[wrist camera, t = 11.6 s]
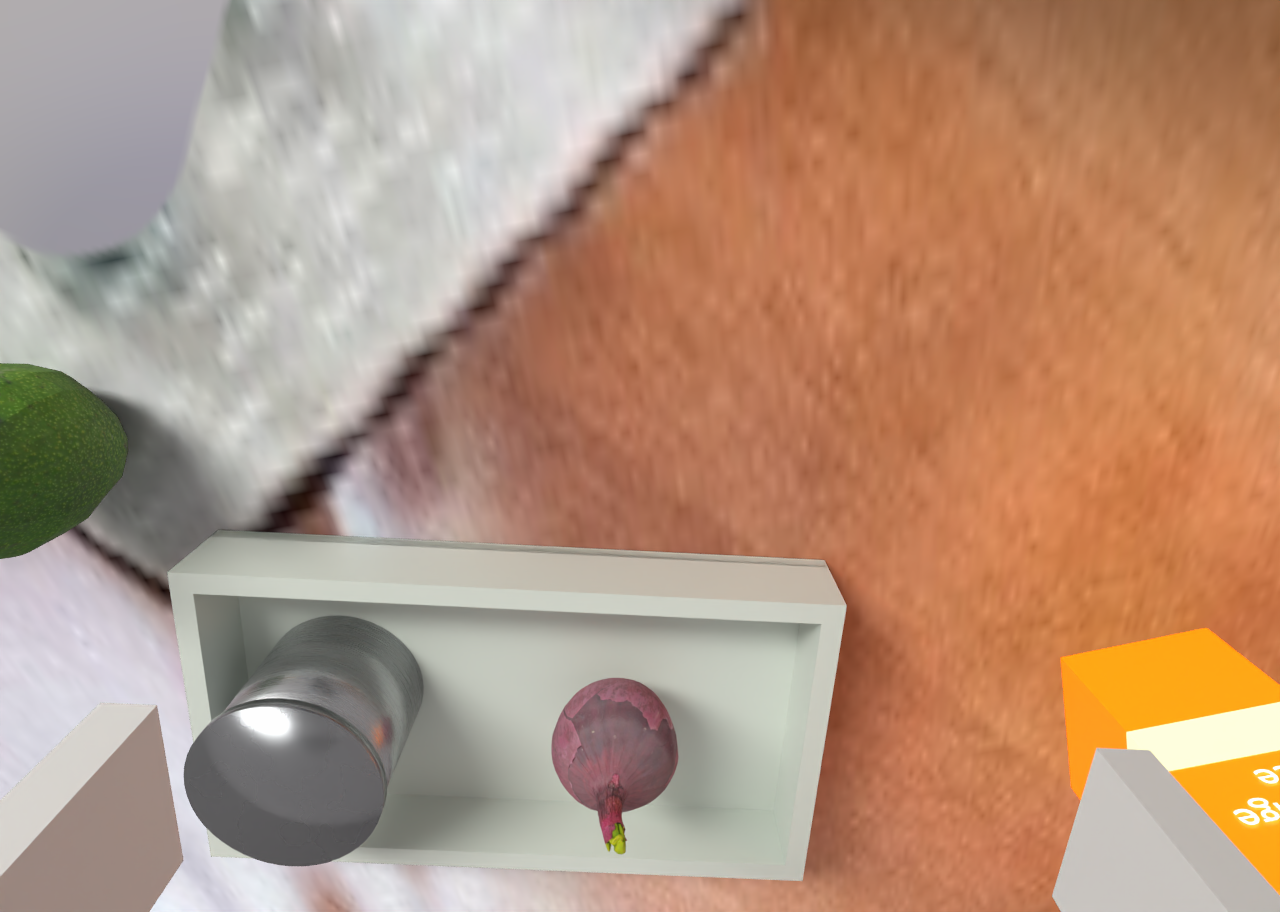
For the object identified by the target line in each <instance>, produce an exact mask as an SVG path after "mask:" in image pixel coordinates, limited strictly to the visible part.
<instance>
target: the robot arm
mask: <svg viewBox="0 0 1280 912" xmlns="http://www.w3.org/2000/svg"><path fill="white" fill-rule="evenodd" d="M182 862H183V855H182V849H181V843H180V838H179V832H178V826H177V820H176V814H175V808H174V802H173V797H172V791H171V785H170V779H169V773H168V767H167V762H166V756H165V750H164V744H163V738H162V732H161V726H160V721H159V715H158V709H157V705H140V704H117V703H100V704H99V705H98V706H97V707H96V708H95V709H94V710H93V711H92V712H91V713H90V714H89V715H87V716H86V717H85V718H84V719H83V720H82V721H81V722H80V723H79V724H78V725H77V726H76V727H75V728H74V729H73V730H72V731H71V732H70V733H69V734H68V735H67V736H66V737H65V738H64V739H63V740H62V741H61V742H60V743H59V744H58V745H57V746H56V747H55V748H54V749H53V750H52V751H51V752H50V753H49V754H47V755H46V756H45V757H44V758H43V759H42V760H41V761H40V762H39V763H38V764H37V765H36V766H35V767H34V768H33V769H32V770H31V771H30V772H29V773H28V774H27V775H26V776H25V777H24V778H23V779H22V780H21V781H20V782H19V783H18V784H17V785H16V786H15V787H14V788H13V789H12V790H11V791H10V792H9V793H7V794H6V795H5V796H4V797H3V798H2V799H1V800H0V912H149V911H150V910H151V908H152V907H153V905H154V904H155V902H156V901H157V899H158V898H159V896H160V895H161V893H162V892H163V890H164V889H165V887H166V886H167V884H168V883H169V881H170V880H171V878H172V877H173V875H174V874H175V872H176V871H177V869H178V868H179V866H180V865H181V863H182ZM1052 897H1053V899H1054V900H1055V902H1056V904H1057V906H1058V907H1059V909H1060V911H1061V912H1280V895H1279V894H1278V893H1277V892H1276V890H1275V889H1274V888H1273V887H1272V886H1271V885H1270V884H1269V883H1268V881H1267V880H1266V879H1265V878H1264V877H1263V876H1262V875H1261V874H1260V873H1259V871H1258V870H1257V869H1256V868H1255V867H1254V866H1253V865H1252V864H1251V863H1250V861H1249V860H1248V859H1247V858H1246V857H1245V856H1244V855H1243V854H1242V852H1241V851H1240V850H1239V849H1238V848H1237V847H1236V846H1235V845H1234V844H1233V842H1232V841H1231V840H1230V839H1229V838H1228V837H1227V836H1226V835H1225V834H1224V832H1223V831H1222V830H1221V829H1220V828H1219V827H1218V826H1217V825H1216V823H1215V822H1214V821H1213V820H1212V819H1211V818H1210V817H1209V816H1208V815H1207V813H1206V812H1205V811H1204V810H1203V809H1202V808H1201V807H1200V806H1199V805H1198V803H1197V802H1196V801H1195V800H1194V799H1193V798H1192V797H1191V796H1190V794H1189V793H1188V792H1187V791H1186V790H1185V789H1184V788H1183V787H1182V786H1181V784H1180V783H1179V782H1178V781H1177V780H1176V779H1175V778H1174V777H1173V776H1172V774H1171V773H1170V772H1169V771H1168V770H1167V769H1166V768H1165V767H1164V765H1163V764H1162V763H1161V762H1160V761H1159V760H1158V759H1157V758H1156V757H1155V755H1154V754H1153V753H1152V752H1151V751H1150V750H1136V749H1114V748H1096V751H1095V754H1094V757H1093V761H1092V764H1091V767H1090V771H1089V774H1088V777H1087V781H1086V784H1085V787H1084V791H1083V794H1082V798H1081V801H1080V804H1079V808H1078V811H1077V814H1076V818H1075V821H1074V824H1073V828H1072V831H1071V834H1070V838H1069V841H1068V844H1067V848H1066V851H1065V854H1064V858H1063V861H1062V865H1061V868H1060V871H1059V875H1058V878H1057V881H1056V885H1055V888H1054V891H1053V895H1052Z"/></svg>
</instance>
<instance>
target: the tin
mask: <svg viewBox="0 0 1280 912" xmlns="http://www.w3.org/2000/svg"><path fill="white" fill-rule="evenodd" d="M423 691H424V686H423V678H422V674H421V670H420V668H419V665H418V663H417V661H416V659H415V658H414V656H413V654H412V653H411V652H410V650H409V649H408V648H407V646H406V645H405V644H404V643H403V642H402V641H401V640H400V639H399V638H397V637H396V636H395V635H393V634H392V633H391V632H389V631H388V630H386V629H384V628H383V627H381V626H379V625H377V624H375V623H372V622H370V621H367V620H364V619H360V618H356V617H351V616H341V615H336V616H323V617H318V618H314V619H310V620H307V621H305V622H302V623H300V624H299V625H297V626H295V627H293V628H292V629H291V630H289V631H288V632H287V633H286V634H285V635H284V636H283V637H282V638H281V639H280V640H279V641H278V642H277V644H276V645H275V646H274V648H273V649H272V650H271V651H270V653H269V654H268V655H267V657H266V658H265V659H264V660H263V662H262V663H261V664H260V665H259V667H258V668H257V669H256V671H255V672H254V673H253V674H252V676H251V677H250V678H249V680H248V681H247V682H246V683H245V685H244V686H243V687H242V689H241V690H240V691H239V692H238V694H237V695H236V696H235V698H234V699H233V700H232V701H231V703H230V704H229V705H228V707H227V708H226V709H225V710H224V712H222V713H221V714H219V715H218V716H217V717H215V718H214V719H213V720H212V721H211V722H210V723H209V724H208V725H207V726H206V727H205V728H204V729H203V731H202V732H201V733H200V734H199V736H198V737H197V738H196V740H195V741H194V743H193V744H192V746H191V748H190V750H189V752H188V754H187V758H186V762H185V766H184V785H185V789H186V793H187V797H188V799H189V802H190V804H191V807H192V808H193V810H194V812H195V813H196V815H197V817H198V818H199V819H200V821H201V822H202V823H203V825H204V826H205V827H206V828H207V829H208V830H209V831H210V832H211V833H212V834H213V835H214V836H216V837H217V838H218V839H219V840H221V841H222V842H223V843H225V844H226V845H228V846H229V847H231V848H232V849H234V850H236V851H238V852H240V853H242V854H244V855H247V856H249V857H252V858H254V859H257V860H260V861H264V862H267V863H272V864H277V865H285V866H310V865H318V864H322V863H327V862H330V861H333V860H336V859H339V858H341V857H343V856H345V855H347V854H349V853H351V852H352V851H354V850H355V849H357V848H358V847H359V846H360V845H361V844H363V843H364V842H365V841H366V840H367V839H368V837H369V836H370V835H371V834H372V832H373V831H374V829H375V827H376V825H377V824H378V821H379V819H380V816H381V814H382V811H383V808H384V806H385V802H386V797H387V787H388V785H389V782H390V780H391V778H392V775H393V773H394V770H395V768H396V765H397V763H398V761H399V758H400V756H401V753H402V751H403V748H404V746H405V744H406V741H407V739H408V736H409V734H410V732H411V729H412V727H413V724H414V722H415V719H416V717H417V715H418V712H419V709H420V707H421V704H422V700H423Z"/></svg>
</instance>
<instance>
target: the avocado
mask: <svg viewBox="0 0 1280 912" xmlns="http://www.w3.org/2000/svg"><path fill="white" fill-rule="evenodd" d="M127 453H128V440H127V436H126V434H125V432H124V430H123V427H122V425H121V423H120V421H119V419H118V417H117V416H116V415H115V413H114V412H112V410H111V409H110V408H109V407H108V406H107V405H106V404H105V403H104V402H103V401H102V400H101V399H100V398H98V397H97V396H96V395H94V394H93V393H92V392H91V391H90V390H88V389H87V388H85V387H84V386H82V385H81V384H80V383H78V382H77V381H76V380H74V379H73V378H72V377H70V376H68V375H66V374H65V373H63V372H61V371H57V370H52V369H48V368H43V367H39V366H34V365H30V364H2V363H0V559H3V558H10V557H16V556H20V555H23V554H26V553H28V552H30V551H32V550H34V549H36V548H38V547H40V546H41V545H43V544H45V543H47V542H49V541H51V540H53V539H54V538H56V537H58V536H60V535H62V534H64V533H65V532H67V531H69V530H70V529H72V528H73V527H75V526H76V525H78V524H79V523H81V522H83V521H84V520H86V519H87V518H88V517H89V516H90V515H91V514H92V512H93V511H94V510H95V508H96V507H97V506H98V504H99V503H100V502H101V501H102V499H103V498H104V497H105V496H106V494H107V493H108V492H109V491H110V490H111V489H112V487H113V486H114V485H115V484H116V483H117V482H118V480H119V479H120V478H121V477H122V475H123V470H124V466H125V462H126V457H127Z"/></svg>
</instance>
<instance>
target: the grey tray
mask: <svg viewBox="0 0 1280 912" xmlns="http://www.w3.org/2000/svg"><path fill="white" fill-rule="evenodd" d="M167 575H168V582H169V588H170V595H171V601H172V608H173V614H174V621H175V627H176V634H177V640H178V647H179V653H180V659H181V666H182V672H183V679H184V685H185V692H186V698H187V705H188V711H189V718H190V724H191V731H192V737H193V743H194V741H195V740H196V738H197V737H198V736H199V734H200V733H201V732H202V731H203V729H204V728H205V727H206V726H207V725H208V724H209V723H210V722H211V721H212V720H213V719H214V718H215V717H217V716H218V715H219V714H221V713H222V712H224V710H225V709H226V708H227V707H228V705H229V704H230V703H231V701H232V700H233V699H234V698H235V696H236V695H237V694H238V692H239V691H240V690H241V689H242V687H243V686H244V685H245V683H246V682H247V681H248V680H249V678H250V677H251V676H252V674H253V673H254V672H255V671H256V669H257V668H258V667H259V665H260V664H261V663H262V662H263V660H264V659H265V658H266V657H267V655H268V654H269V653H270V651H271V650H272V649H273V648H274V646H275V645H276V644H277V642H278V641H279V640H280V639H281V638H282V637H283V636H284V635H285V634H286V633H287V632H288V631H289V630H291V629H292V628H293V627H295V626H297V625H299V624H300V623H302V622H305V621H307V620H310V619H314V618H318V617H323V616H336V615H341V616H351V617H356V618H360V619H364V620H367V621H370V622H372V623H375V624H377V625H379V626H381V627H383V628H384V629H386V630H388V631H389V632H391V633H392V634H393V635H395V636H396V637H397V638H399V639H400V640H401V641H402V642H403V643H404V644H405V645H406V646H407V648H408V649H409V650H410V652H411V653H412V654H413V656H414V658H415V659H416V661H417V663H418V665H419V668H420V670H421V674H422V678H423V686H424V691H423V700H422V704H421V707H420V709H419V712H418V715H417V717H416V719H415V722H414V724H413V727H412V729H411V732H410V734H409V736H408V739H407V741H406V744H405V746H404V748H403V751H402V753H401V756H400V758H399V761H398V763H397V765H396V768H395V770H394V773H393V775H392V778H391V780H390V782H389V785H388V787H387V797H386V802H385V806H384V808H383V811H382V814H381V816H380V819H379V821H378V824H377V825H376V827H375V829H374V831H373V832H372V834H371V835H370V836H369V837H368V839H367V840H366V841H365V842H364V843H363V844H361V845H360V846H359V847H358V848H357V849H355V850H354V851H352V852H351V853H349V854H347V855H345V856H343V857H341V858H339V859H336V860H333V861H331V862H355V863H380V864H404V865H428V866H452V867H476V868H500V869H525V870H549V871H573V872H597V873H621V874H645V875H670V876H694V877H718V878H742V879H766V880H790V881H803V875H804V868H805V862H806V856H807V850H808V843H809V837H810V831H811V825H812V819H813V812H814V806H815V800H816V794H817V788H818V781H819V775H820V769H821V763H822V756H823V750H824V744H825V738H826V732H827V725H828V719H829V713H830V707H831V701H832V694H833V688H834V682H835V676H836V669H837V663H838V657H839V651H840V645H841V638H842V632H843V626H844V620H845V614H846V607H847V605H846V603H845V601H844V599H843V597H842V595H841V593H840V591H839V589H838V587H837V585H836V583H835V581H834V579H833V577H832V575H831V573H830V571H829V569H828V566H827V564H826V562H825V560H812V559H792V558H772V557H752V556H732V555H712V554H692V553H672V552H652V551H632V550H612V549H592V548H573V547H553V546H533V545H513V544H493V543H473V542H453V541H433V540H413V539H393V538H373V537H353V536H333V535H313V534H293V533H273V532H253V531H233V530H217V531H216V532H215V533H214V534H213V535H211V536H210V537H209V538H208V539H207V540H205V541H204V542H203V543H202V544H201V545H199V546H198V547H197V548H196V549H195V550H193V551H192V552H191V553H190V554H189V555H187V556H186V557H185V558H184V559H183V560H181V561H180V562H179V563H178V564H177V565H175V566H174V567H173V568H172V569H171V570H169V571H168V572H167ZM607 678H626V679H631V680H635V681H637V682H640V683H642V684H644V685H646V686H647V687H648V688H649V689H651V690H652V691H653V692H654V693H655V694H656V695H657V696H658V697H659V699H660V700H661V701H662V703H663V704H664V706H665V707H666V709H667V711H668V713H669V716H670V718H671V720H672V723H673V726H674V729H675V732H676V737H677V746H678V764H677V767H676V770H675V773H674V775H673V777H672V779H671V781H670V783H669V784H668V786H667V787H666V789H665V790H664V791H663V792H662V793H661V794H660V795H659V796H658V797H657V798H656V799H655V800H653V801H652V802H650V803H649V804H647V805H645V806H643V807H640V808H637V809H634V810H631V811H627V812H622V822H623V824H624V827H625V833H624V835H625V838H626V839H627V841H625V842H626V852H625V853H624V854H617V853H616V852H615V851H614V846H613V845H612V844H611V849H610V852H608V850H607V848H606V845H605V842H604V838H603V834H602V830H601V827H600V823H599V817H598V811H596V810H592V809H589V808H587V807H586V806H584V805H582V804H581V803H579V802H578V801H576V800H575V799H574V798H573V797H572V796H571V795H570V794H569V793H568V791H567V790H566V789H565V788H564V786H563V785H562V783H561V782H560V780H559V777H558V775H557V773H556V771H555V768H554V765H553V761H552V754H551V744H552V736H553V732H554V729H555V726H556V724H557V721H558V718H559V716H560V714H561V712H562V710H563V709H564V707H565V705H566V704H567V703H568V702H569V701H570V699H571V698H572V697H573V696H574V695H575V694H576V693H577V692H578V691H579V690H581V689H582V688H584V687H585V686H587V685H589V684H591V683H593V682H596V681H599V680H602V679H607ZM207 834H208V840H209V847H210V853H211V857H235V858H252V857H249V856H247V855H244V854H242V853H240V852H238V851H236V850H234V849H232V848H231V847H229V846H228V845H226V844H225V843H223V842H222V841H221V840H219V839H218V838H217V837H216V836H214V835H213V834H212V833H211V832H210V831H209V830H208V829H207Z"/></svg>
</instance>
